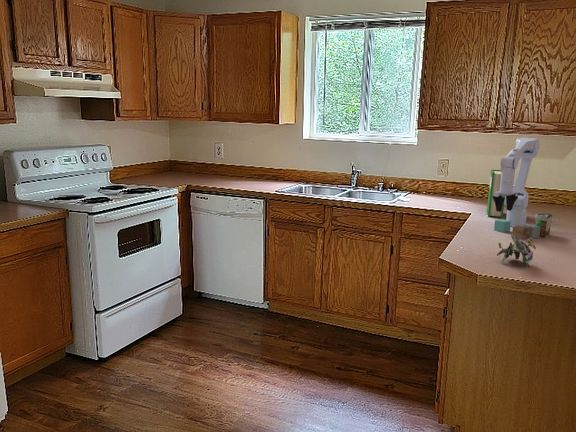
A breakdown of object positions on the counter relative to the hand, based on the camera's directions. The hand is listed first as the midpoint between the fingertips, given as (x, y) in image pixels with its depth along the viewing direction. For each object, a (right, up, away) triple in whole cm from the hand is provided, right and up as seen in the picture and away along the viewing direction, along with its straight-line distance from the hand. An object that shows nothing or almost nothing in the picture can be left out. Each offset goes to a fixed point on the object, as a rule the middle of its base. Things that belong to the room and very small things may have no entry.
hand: (503, 210), depth 242 cm
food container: (+14, -11, -5) cm, 19 cm away
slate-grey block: (+9, -12, -9) cm, 17 cm away
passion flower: (-18, -20, -53) cm, 60 cm away
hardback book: (+12, -2, +42) cm, 44 cm away
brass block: (+3, -12, -11) cm, 17 cm away
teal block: (0, -10, +2) cm, 10 cm away
